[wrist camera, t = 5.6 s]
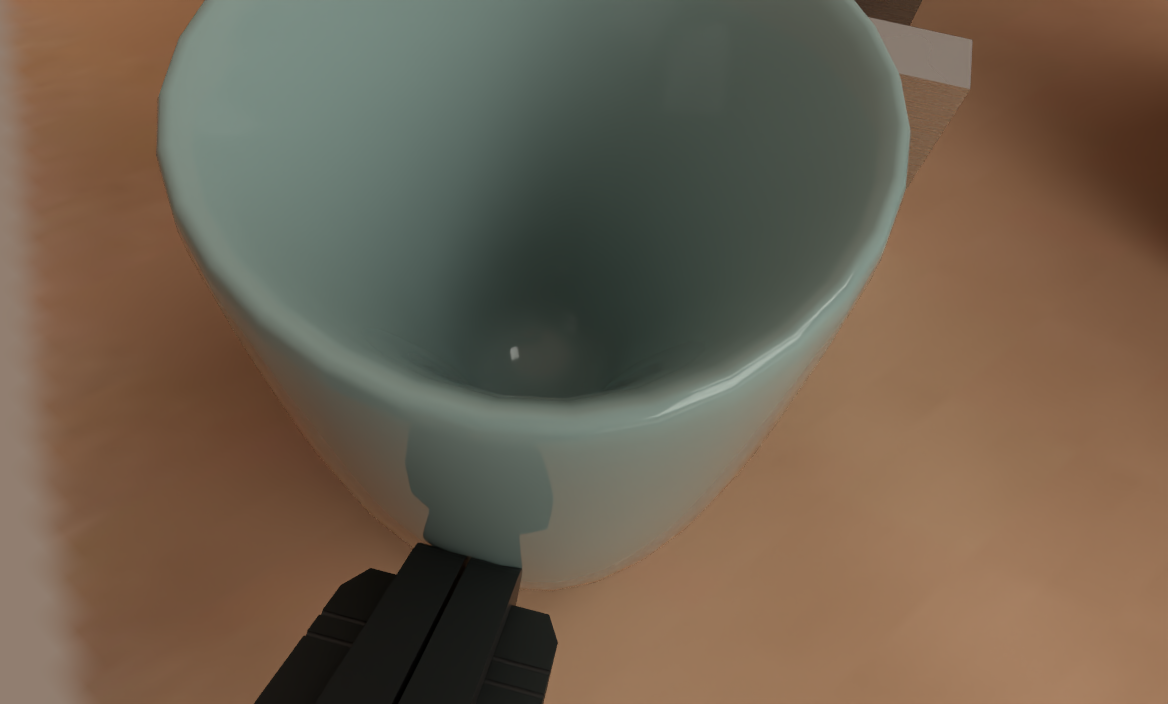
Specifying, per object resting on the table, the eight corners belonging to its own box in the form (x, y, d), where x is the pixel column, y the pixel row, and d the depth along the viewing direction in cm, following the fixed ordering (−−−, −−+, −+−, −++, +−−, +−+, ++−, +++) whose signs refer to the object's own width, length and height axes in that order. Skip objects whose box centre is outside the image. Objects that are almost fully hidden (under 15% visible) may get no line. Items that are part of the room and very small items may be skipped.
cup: (523, 219, 20) (517, -228, 11) (792, 418, 18) (1046, 70, 9) (267, 450, 17) (-19, 94, 8) (556, 719, 15) (593, 635, 6)
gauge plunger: (873, 71, 22) (980, -149, 17) (848, 278, 19) (970, 89, 14) (445, -24, 23) (420, -264, 18) (356, 161, 20) (293, -62, 15)
